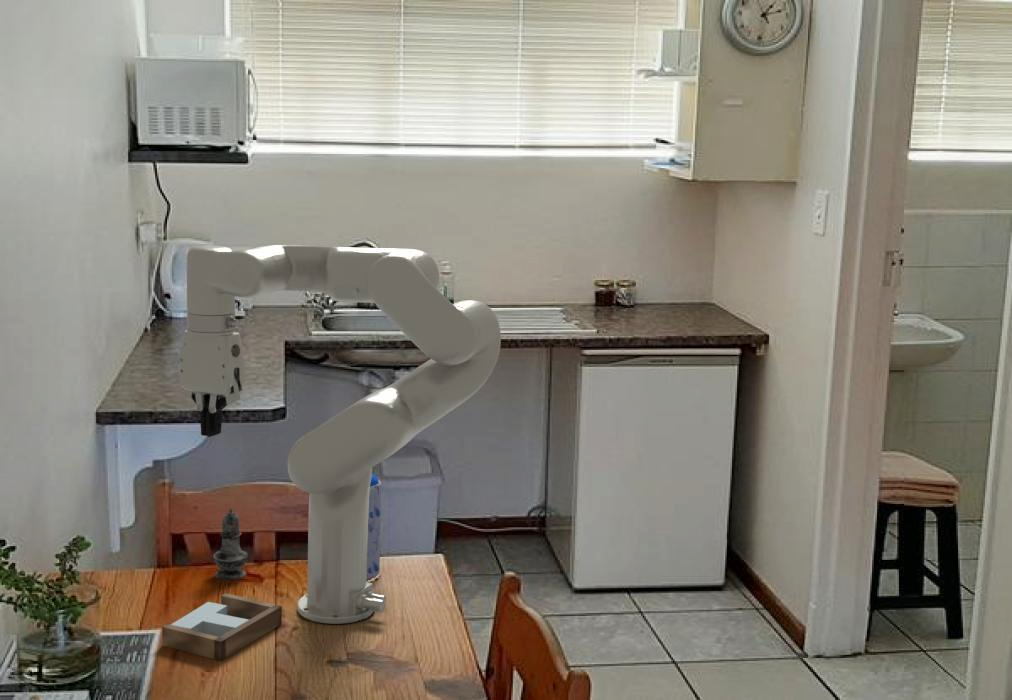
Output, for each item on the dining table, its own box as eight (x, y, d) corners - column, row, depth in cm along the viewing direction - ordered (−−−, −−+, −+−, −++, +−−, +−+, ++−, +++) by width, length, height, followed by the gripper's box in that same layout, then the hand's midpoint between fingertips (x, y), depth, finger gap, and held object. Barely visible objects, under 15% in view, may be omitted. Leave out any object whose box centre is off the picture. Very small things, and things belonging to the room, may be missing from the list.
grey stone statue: (250, 569, 217) (251, 503, 215) (244, 581, 211) (245, 514, 209) (216, 568, 217) (216, 502, 214) (210, 580, 211) (210, 513, 209)
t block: (170, 640, 186) (170, 624, 186) (208, 616, 196) (208, 601, 195) (227, 652, 183) (227, 636, 183) (263, 627, 192) (263, 612, 192)
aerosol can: (386, 570, 219) (389, 461, 215) (371, 586, 211) (374, 473, 208) (345, 564, 221) (347, 457, 217) (328, 580, 213) (330, 468, 210)
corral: (162, 645, 184) (162, 626, 184) (225, 610, 198) (225, 593, 198) (220, 660, 180) (220, 641, 180) (281, 624, 194) (281, 606, 193)
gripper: (263, 325, 198) (262, 436, 201) (188, 315, 204) (188, 423, 207) (235, 331, 191) (234, 446, 194) (158, 321, 197) (159, 432, 200)
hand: (211, 434), depth 201 cm, fingers closed
